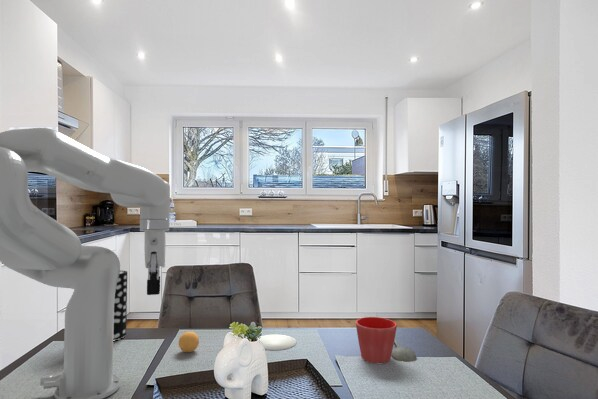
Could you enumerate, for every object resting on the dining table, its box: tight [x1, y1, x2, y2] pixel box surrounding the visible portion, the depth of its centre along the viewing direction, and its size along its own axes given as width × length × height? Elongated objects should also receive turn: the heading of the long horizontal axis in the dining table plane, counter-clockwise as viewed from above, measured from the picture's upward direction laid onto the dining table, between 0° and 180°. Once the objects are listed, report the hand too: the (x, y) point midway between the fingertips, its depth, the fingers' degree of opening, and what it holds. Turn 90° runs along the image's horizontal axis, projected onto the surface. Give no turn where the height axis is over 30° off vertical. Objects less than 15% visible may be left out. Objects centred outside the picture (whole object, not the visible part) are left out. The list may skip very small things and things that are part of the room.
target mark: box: [259, 334, 297, 351], centre depth 115 cm, size 13×13×1 cm
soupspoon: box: [391, 339, 417, 363], centre depth 112 cm, size 22×3×7 cm
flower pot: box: [355, 316, 398, 364], centre depth 104 cm, size 11×11×10 cm
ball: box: [178, 331, 200, 353], centre depth 107 cm, size 6×6×6 cm
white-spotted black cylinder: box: [113, 270, 128, 339], centre depth 118 cm, size 8×8×20 cm
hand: (153, 292), depth 104 cm, fingers open, 3 cm apart
